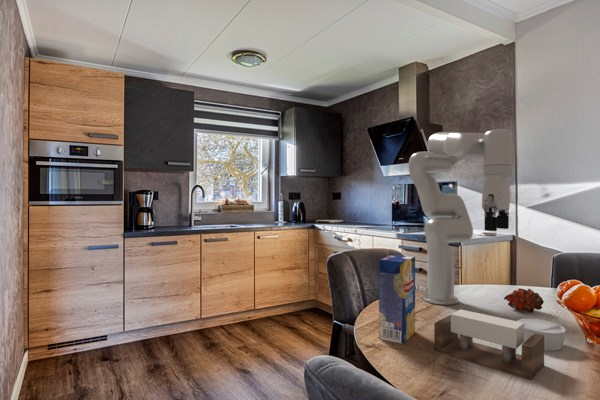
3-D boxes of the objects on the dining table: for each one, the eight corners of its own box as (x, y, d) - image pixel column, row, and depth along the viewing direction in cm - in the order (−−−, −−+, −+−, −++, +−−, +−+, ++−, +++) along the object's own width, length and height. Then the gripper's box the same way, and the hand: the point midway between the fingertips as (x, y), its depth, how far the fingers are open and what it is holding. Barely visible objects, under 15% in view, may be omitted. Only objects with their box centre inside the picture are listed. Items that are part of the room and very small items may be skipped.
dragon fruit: (547, 319, 125) (506, 318, 132) (545, 300, 131) (507, 299, 138) (542, 302, 121) (501, 301, 128) (541, 283, 127) (502, 283, 134)
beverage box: (415, 331, 109) (415, 256, 109) (403, 344, 100) (403, 262, 100) (392, 327, 113) (392, 254, 113) (378, 338, 104) (378, 259, 104)
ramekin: (567, 357, 92) (567, 335, 92) (515, 347, 98) (515, 327, 98) (564, 342, 102) (564, 322, 102) (517, 334, 108) (517, 315, 108)
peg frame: (434, 350, 96) (434, 322, 96) (451, 339, 103) (451, 314, 103) (532, 379, 80) (532, 347, 80) (544, 365, 87) (544, 335, 87)
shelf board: (450, 331, 95) (450, 314, 95) (460, 326, 99) (460, 309, 99) (516, 348, 84) (516, 329, 84) (524, 341, 89) (524, 322, 89)
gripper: (494, 173, 119) (494, 227, 119) (472, 171, 107) (471, 230, 108) (521, 172, 114) (520, 228, 114) (500, 170, 102) (500, 232, 102)
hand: (496, 229), depth 111 cm, fingers open, 9 cm apart
